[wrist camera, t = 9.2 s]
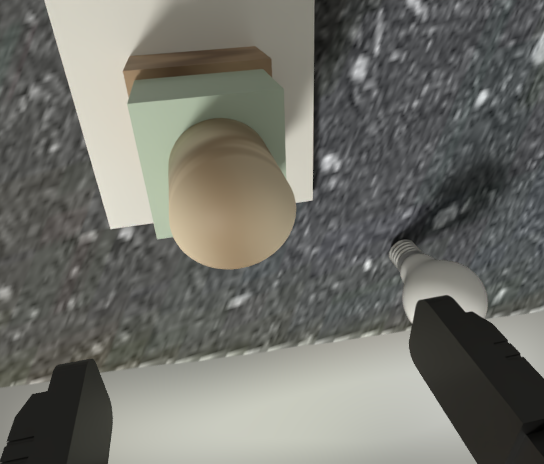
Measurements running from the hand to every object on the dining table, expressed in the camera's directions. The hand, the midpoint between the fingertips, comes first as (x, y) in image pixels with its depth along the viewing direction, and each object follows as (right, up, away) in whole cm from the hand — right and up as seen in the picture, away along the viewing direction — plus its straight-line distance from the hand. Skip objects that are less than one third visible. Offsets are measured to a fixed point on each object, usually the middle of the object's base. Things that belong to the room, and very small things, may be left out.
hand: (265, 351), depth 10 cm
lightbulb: (+12, +2, +30) cm, 33 cm away
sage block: (-4, +9, +14) cm, 17 cm away
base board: (-5, +12, +19) cm, 23 cm away
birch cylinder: (-2, +6, +10) cm, 12 cm away
